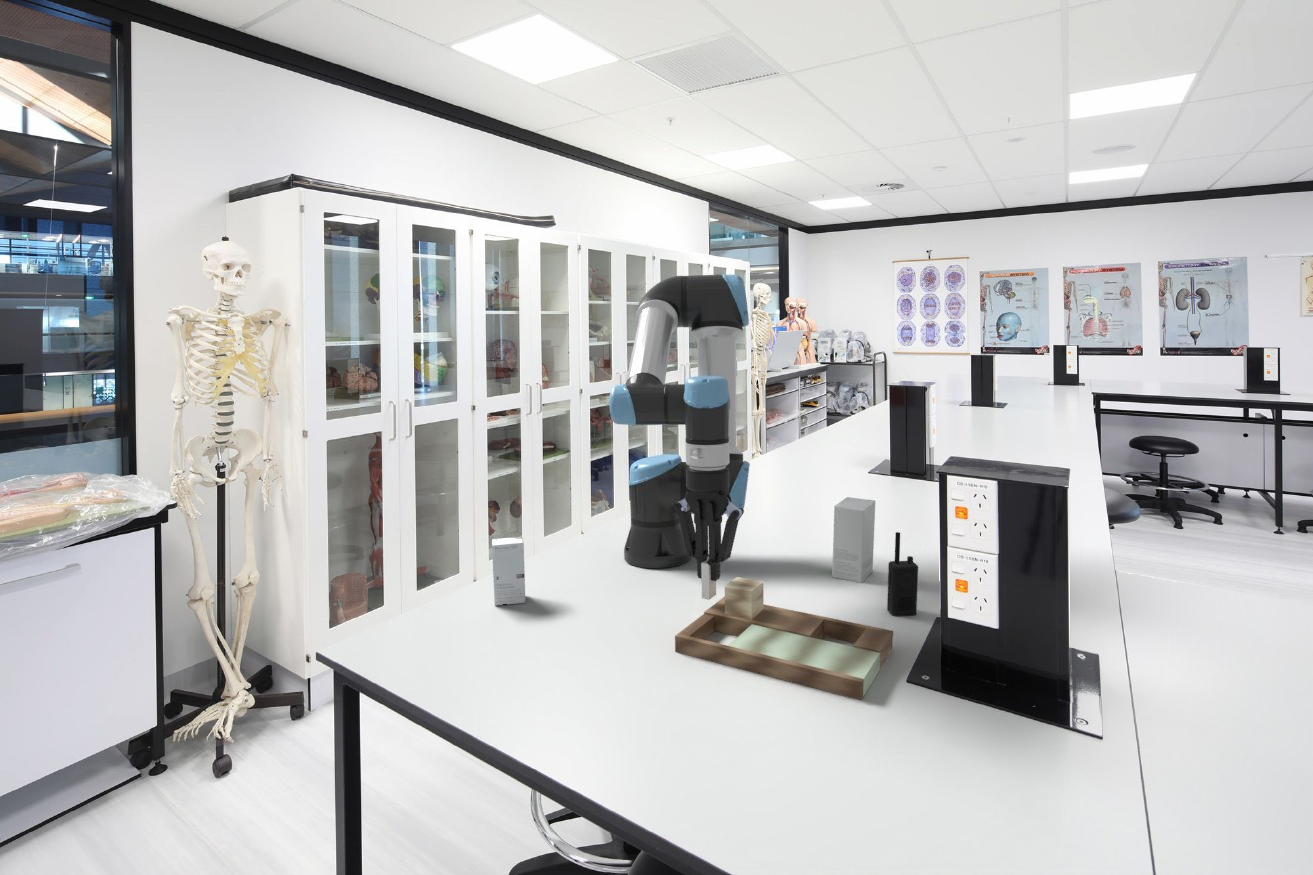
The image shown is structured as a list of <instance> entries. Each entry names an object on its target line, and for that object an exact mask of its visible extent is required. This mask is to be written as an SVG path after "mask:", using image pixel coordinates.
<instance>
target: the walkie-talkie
mask: <svg viewBox="0 0 1313 875" xmlns="http://www.w3.org/2000/svg"><path fill="white" fill-rule="evenodd" d="M894 540H895V542H894V560H892V561H889V562H888V566H887V567H888V569H887V571H888V572H887V574H888V575H887V598H886V599H887V602H886V603H887V605H886V610H887V612H888V613H889V614H890V615H891V616H894V617H901V616H902V617H904V616H905V617H906V616H916V615H917V612H918V611H917V610H918V609H917V608H918V586H919V584H918V583H919V582H918V581H919V580H918V579H919V566H918V564H917V563H915V562H914V556H912V555H909V556H907V558H906V559H907V560H900V556H901V554H900V553H901V552H900V551H901V532H898V531H897V532H895V538H894Z"/></svg>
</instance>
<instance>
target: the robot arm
mask: <svg viewBox="0 0 1313 875" xmlns="http://www.w3.org/2000/svg"><path fill="white" fill-rule="evenodd" d="M634 320H635V325H636V333H635V336H634V337H635V338H634V342H633V346H632V351H631V355H630V360H629V364H628V370H627V375H626V378H625V384H624V383H622V384H615V385H614V386H612V387H611V389H610V392H609V402H608V405H609V414H610V418H611V420H612V422H613V423H614V424H616V425H624V426H625V425H627V426H632V427H634V426H635V427H636V426H658V425H659V426H662V425H664V426H665V425H670V426H671V425H674V426H675V425H677V426H678V425H680V426H681V425H683V426H684V425H685V428H684V429H685V461H682V456H680V455H679V454H676V453H675V454H674V453H673V454H672V453H671V454H670V453H667V454H660V455H659V454H658V455H652V456H648V457H647V456H646V457H644V458H641V459H638V460H636V461H634V462H633V463H631V465H630V468H629V481H628V486H629V502H630V503H629V504H630V505H629V506H630V507H629V508H630V526H629V528H630V529H629V530H628V534H627V537H626V538H627V539H626V542H625V545H624V547H623V555H624V556H623V557H624V561H625V562H626V563H628V564H629V565H632V566H634V567H638V568H644V569H665V568H672V567H673V568H674V567H677V566H681V565H683V564H685V563H687V562H689V560H691V557H692V558H693V559H695V561H696V564H697V566H696V568H697V570H696V571H697V572H696V573H697V574H696V575H697V578H698V579H701V599H703V600H708V601H710V600H711V599H713V598H714V597H715V596H717V581H718V580H720V579H721V563H723V562H725V561H727V560H728V559H730V558H731V557H732V556H731V555H732V551H733V546H734V543H735V539H736V538H735V537H736V535H737V534H736V533H737V528H738V525H739V522H740V521H739V520H741V518H742V516H743V514H744V513H745V510H744V508H745V505H746V498H747V490H748V481H749V475H750V474H749V472H750V466H751V465H750V464H751V463H750V462H749V461H747V460H744V453H743V452H742V450H740V449H739V447H738V446H737V340H738V339H739V338H740V337H741V336H742V335H743V331H744V330H743V328H745V327H747V326H749V324H750V323H749V322H750V318H749V312H748V301H747V294H746V286H745V282H744V279H743V278H742V276H741V275H738V274H727V273H726V274H724V273H721V274H699V275H697V274H696V275H695V274H694V275H674V276H670V277H667V278H665V279H663V280H661V281H659V282H657V283H656V284H654V285H653V286H652V287H651V288H650V289H649V290H648V291H647V292H646V293H645V294H644V295H643V296H642V297H641V299H640V301H639V302H638V305H637V307H636V310H635V315H634ZM677 328H691V331H690V332H691V336H692V337H693V338H694V339H695V340H696V341H697V376H690V377H688V378H687V379H686V380H685V381H684V383H681V384H680V383H679V384H678V383H675V384H670V383H669V384H666V377H667V370H668V363H669V356H670V355H669V354H670V349H671V341H672V334H673V333H674V332H675V331H676V330H677ZM692 515H693V516H692ZM724 515H726V517H727V519H726V521H725V526H724V530H723V534H722V523H723V516H724Z"/></svg>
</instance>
